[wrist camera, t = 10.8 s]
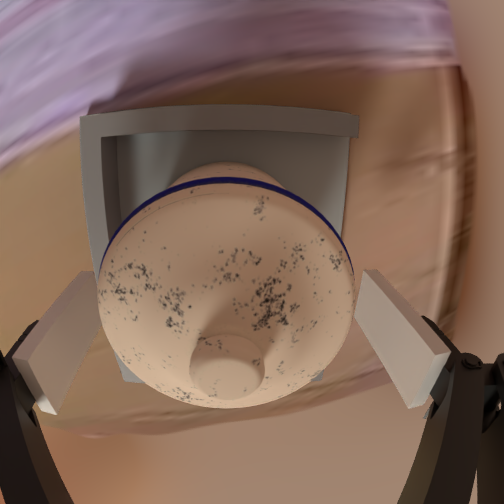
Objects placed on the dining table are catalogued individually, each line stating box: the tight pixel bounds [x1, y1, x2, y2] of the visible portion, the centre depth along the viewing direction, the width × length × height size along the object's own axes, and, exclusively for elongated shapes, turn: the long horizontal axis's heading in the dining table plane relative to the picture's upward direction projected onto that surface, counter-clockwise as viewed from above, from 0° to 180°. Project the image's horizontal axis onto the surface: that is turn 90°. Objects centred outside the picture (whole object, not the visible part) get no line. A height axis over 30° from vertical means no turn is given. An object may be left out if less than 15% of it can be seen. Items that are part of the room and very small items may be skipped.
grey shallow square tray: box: [80, 104, 359, 383], centre depth 18 cm, size 18×16×3 cm
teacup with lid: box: [97, 162, 356, 408], centre depth 13 cm, size 12×9×12 cm
